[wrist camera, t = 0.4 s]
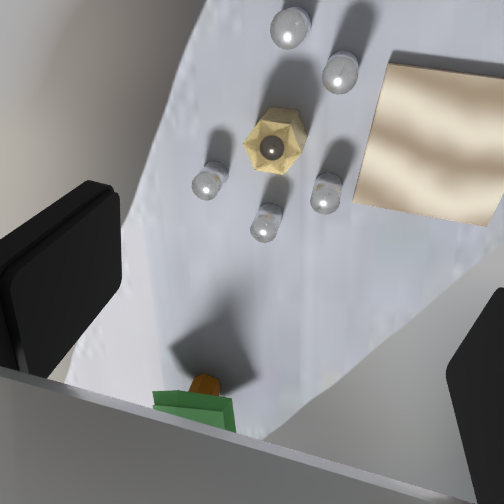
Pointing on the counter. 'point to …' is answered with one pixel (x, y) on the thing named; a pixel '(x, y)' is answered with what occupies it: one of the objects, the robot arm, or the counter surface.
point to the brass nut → (276, 140)
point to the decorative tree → (198, 403)
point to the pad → (435, 145)
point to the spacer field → (336, 81)
